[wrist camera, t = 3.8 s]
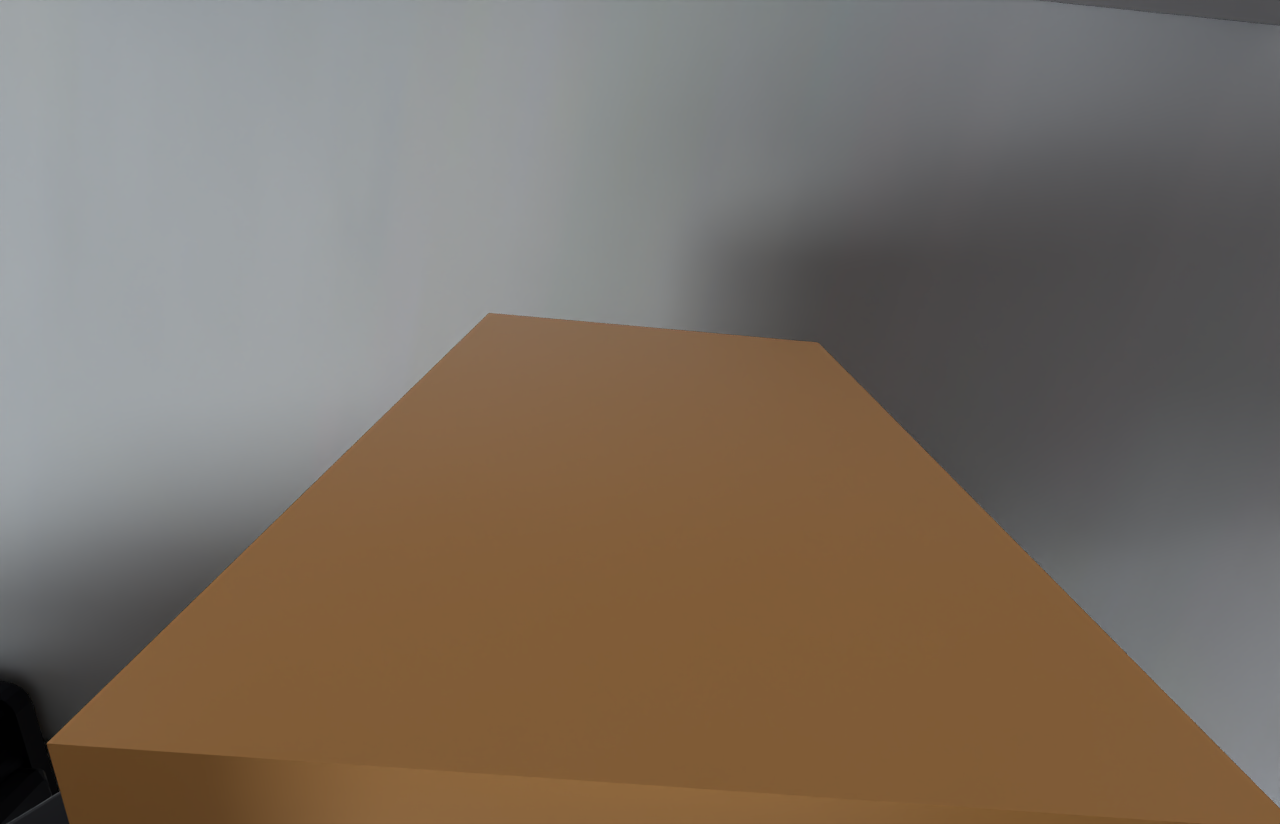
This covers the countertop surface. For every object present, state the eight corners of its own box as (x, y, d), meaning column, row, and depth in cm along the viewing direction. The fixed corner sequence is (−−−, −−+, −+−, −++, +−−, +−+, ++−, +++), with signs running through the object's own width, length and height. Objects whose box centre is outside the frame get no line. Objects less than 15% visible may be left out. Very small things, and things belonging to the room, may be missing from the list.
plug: (482, 809, 12) (289, 1596, 5) (488, 313, 9) (47, 741, 2) (727, 825, 12) (829, 1614, 6) (818, 342, 9) (1300, 829, 2)
